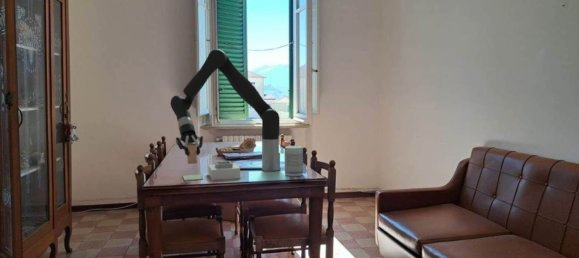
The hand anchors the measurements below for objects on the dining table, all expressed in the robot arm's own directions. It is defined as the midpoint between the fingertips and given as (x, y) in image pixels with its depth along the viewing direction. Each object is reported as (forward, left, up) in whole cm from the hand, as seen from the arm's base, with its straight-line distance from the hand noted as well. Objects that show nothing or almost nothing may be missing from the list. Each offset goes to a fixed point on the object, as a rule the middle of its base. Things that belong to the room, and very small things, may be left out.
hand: (193, 154), depth 208 cm
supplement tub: (-50, +6, -13) cm, 52 cm away
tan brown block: (0, -2, -5) cm, 5 cm away
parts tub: (-15, -2, -12) cm, 20 cm away
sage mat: (0, -2, -12) cm, 12 cm away
